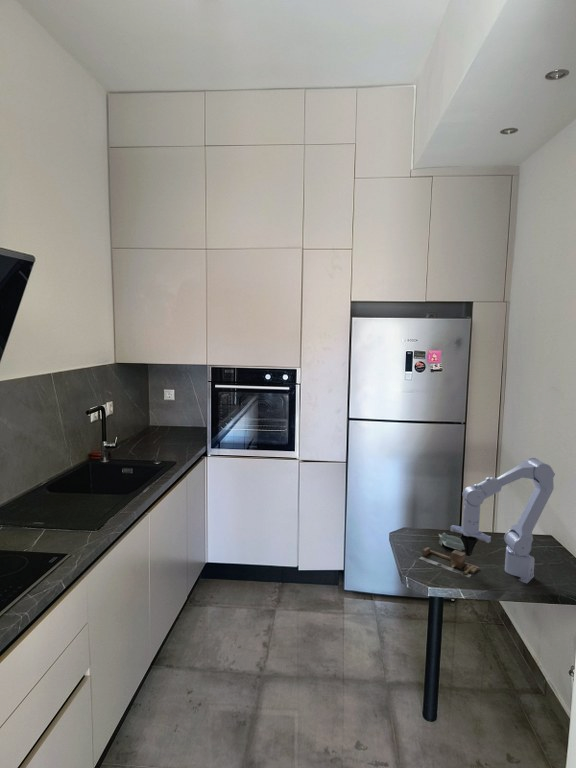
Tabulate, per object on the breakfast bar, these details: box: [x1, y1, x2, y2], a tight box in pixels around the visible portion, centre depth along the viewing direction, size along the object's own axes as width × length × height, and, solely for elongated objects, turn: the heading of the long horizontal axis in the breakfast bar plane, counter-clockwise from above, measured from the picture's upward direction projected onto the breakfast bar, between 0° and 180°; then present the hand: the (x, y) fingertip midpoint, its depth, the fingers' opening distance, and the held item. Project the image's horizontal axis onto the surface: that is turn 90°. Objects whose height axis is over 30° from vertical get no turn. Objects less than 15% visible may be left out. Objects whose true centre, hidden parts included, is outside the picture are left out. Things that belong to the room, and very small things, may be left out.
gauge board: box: [418, 546, 480, 578], centre depth 184 cm, size 22×10×4 cm, turn 46°
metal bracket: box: [438, 532, 465, 552], centre depth 201 cm, size 14×6×15 cm
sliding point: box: [450, 549, 466, 570], centre depth 181 cm, size 4×6×5 cm, turn 136°
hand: (468, 555), depth 179 cm, fingers closed
